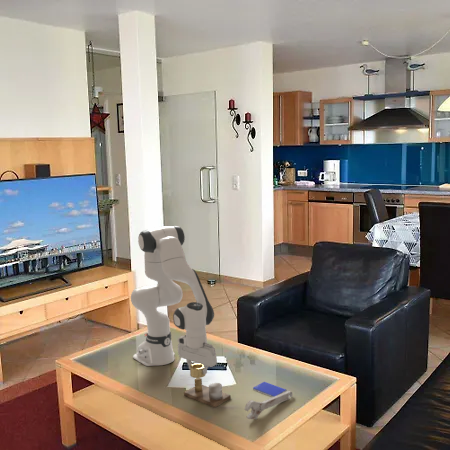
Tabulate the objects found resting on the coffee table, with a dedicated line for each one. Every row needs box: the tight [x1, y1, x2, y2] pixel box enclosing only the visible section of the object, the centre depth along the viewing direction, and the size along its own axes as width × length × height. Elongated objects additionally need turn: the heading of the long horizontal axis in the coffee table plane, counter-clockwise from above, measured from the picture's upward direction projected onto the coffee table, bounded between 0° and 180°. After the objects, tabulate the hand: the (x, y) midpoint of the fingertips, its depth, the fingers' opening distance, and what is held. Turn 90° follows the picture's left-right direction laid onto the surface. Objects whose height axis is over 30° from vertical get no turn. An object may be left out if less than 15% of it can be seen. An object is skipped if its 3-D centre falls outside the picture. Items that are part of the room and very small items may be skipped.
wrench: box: [244, 390, 293, 420], centre depth 220 cm, size 8×2×30 cm
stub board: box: [183, 378, 232, 408], centre depth 232 cm, size 18×10×6 cm, turn 49°
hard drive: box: [252, 381, 288, 398], centre depth 237 cm, size 2×8×12 cm
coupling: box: [189, 362, 207, 379], centre depth 234 cm, size 6×6×4 cm
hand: (197, 371), depth 234 cm, fingers closed on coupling, 6 cm apart
